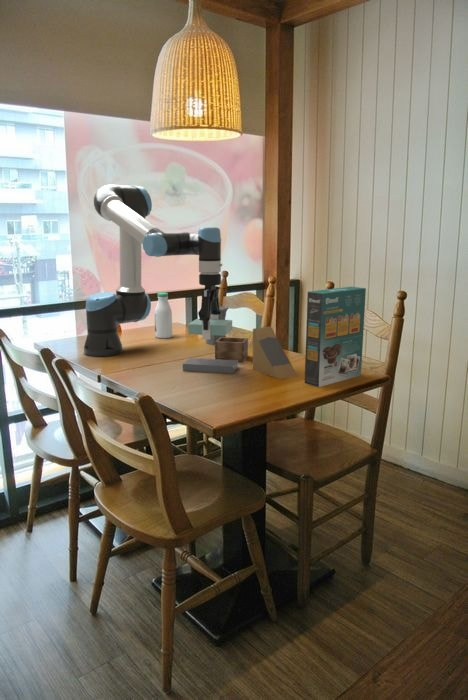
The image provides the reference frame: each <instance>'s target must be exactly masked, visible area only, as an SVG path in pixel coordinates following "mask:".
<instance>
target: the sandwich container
mask: <svg viewBox="0 0 468 700" xmlns="http://www.w3.org/2000/svg"><path fill="white" fill-rule="evenodd" d="M252 370H253V371H255V372H258V373H261V374H264V375H266V376H269V377H273V378H276V379H279V380H281V379H288V378H292V377H296V376H298V373H297V372H296V370H295V369H294V367H293V365H292V363H291V361H290V360H289V357H288V355H287V354H286V352H285V350H284V348H283V347H282V344H281V343H280V340H279V339H278V338H277V335H276V334H275V331H274V330H273V326H264V327H262V326H261V327H258V328H253V329H252Z"/></svg>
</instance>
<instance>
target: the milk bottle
mask: <svg viewBox="0 0 468 700" xmlns="http://www.w3.org/2000/svg"><path fill="white" fill-rule="evenodd" d="M157 298H158V299H157V303H156V305H155V308H154V335H155V338H158V339H170V338H173V313H172V311H173V310H172V308H171V305H170V304H169V303H170V302H169V301H168V299H169V294H168V292H158V293H157Z"/></svg>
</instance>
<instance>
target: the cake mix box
mask: <svg viewBox="0 0 468 700" xmlns="http://www.w3.org/2000/svg"><path fill="white" fill-rule="evenodd" d="M366 291H367V290H366V287H356V286H345V287H344V286H343V287H336V288H327V289H318V290H310V291H307V299H306V300H307V301H306V302H307V305H306V329H305V330H306V332H305V335H306V336H305V358H304V359H305V360H304V361H305V365H304V384H306V385H309V386H313V387H316V388H321V387H325V386H328V385H331V384H336V383H338V382H343V381H345V380H349V379H352V378H357V377H360V376H362V363H363V347H364V346H363V344H364V328H365V312H366V311H365V309H366V294H367V293H366Z"/></svg>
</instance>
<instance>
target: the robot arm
mask: <svg viewBox="0 0 468 700" xmlns="http://www.w3.org/2000/svg"><path fill="white" fill-rule="evenodd" d="M152 206H153V202H152V198H151V196H150V193H149V192H148V190H147V189H146V188H145V187H143V186H138V185H129V184H128V185H123V184H106V185H103V186H101V187H100V188H98V189H97V190H96V192H95V194H94V196H93V207H94V209H95V211H96V213H97V214H98V215H99V216H100V217H102V218H103V219H104V220H105V221H109V222H113V224H115V225H116V226H118V227H119V286H118V287H117V288H116V289H115V291H116V292H111V291H106V292H98V293H97V292H96V293H94V294H91V295H89V296H88V297H87V298H86V299H85V310H86V313H85V314H86V328H87V329H86V330H87V335H86V339H85V342H84V346H83V353H84V355H87V356H91V357H109V356H116V355H119V354H122V353H123V351H124V350H123V349H124V347H123V344H122V341H121V338H120V335H119V333H118V325H121V324H122V325H123V324H128V323H130V324H131V323H137V322H140V321H141V322H142V321H144V320H146V318H148V317H149V315H150V313H151V309H152V301H151V299H150V296H149V295H148V293H146V289H145V288H144V287H143V286H142V250H144V253H145V254H146V255H147V256H149V257H156V258H160V257H168V256H170V257H171V256H188V255H189V256H190V255H191V256H192V255H194V256H198V272H199V273H200V274H199V275H198V284H199V285H201V286H204V289H202V290H201V306H200V309H201V316H200V318H199V319H200V320H202V335H201V336H202V337H201V339H202V340H206V339H211V330H210V312H211V319H215V320H218V315H217V314H221V312H219V311H220V308H219V306H220V300H219V298H220V297H219V286H220V285H221V284H222V275H221V272H222V267H223V263H221V262H222V261H221V260H222V256H221V255H222V252H221V251H222V248H221V247H222V246H221V245H222V236H221V229H220V228H219V227H214V226H213V227H212V226H211V227H203V226H202V227H199V228H198V232H178V233H177V232H176V233H175V232H173V233H172V232H169V233H167V232H164V231H163V230H161V229H160V228H158V227H156V226H155V225H154V224H152V222H149V221H148V220H147V219H146V217H148V216H149V215H150V214H151V212H152V209H153V207H152ZM212 314H213V315H212Z"/></svg>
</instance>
